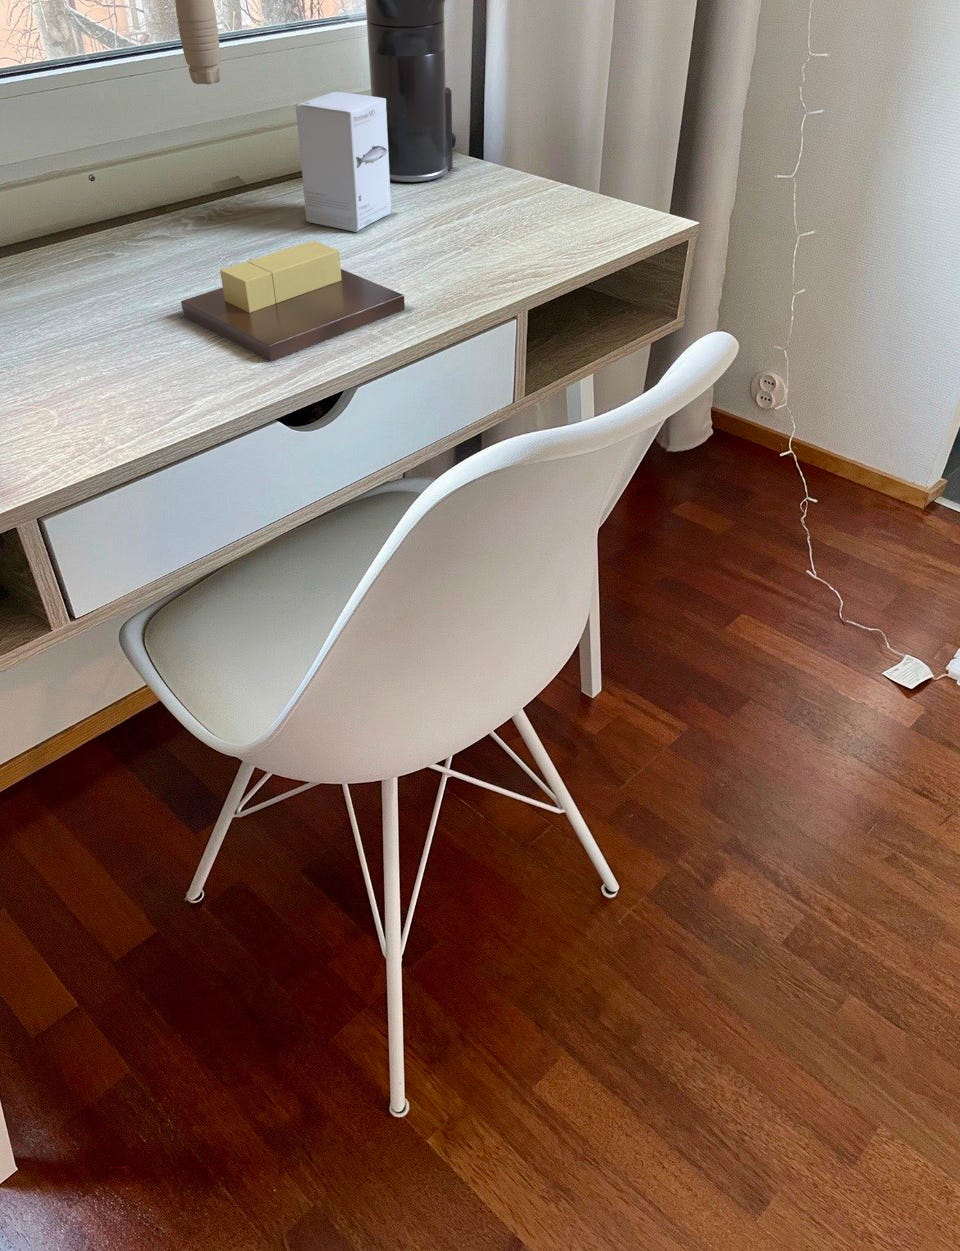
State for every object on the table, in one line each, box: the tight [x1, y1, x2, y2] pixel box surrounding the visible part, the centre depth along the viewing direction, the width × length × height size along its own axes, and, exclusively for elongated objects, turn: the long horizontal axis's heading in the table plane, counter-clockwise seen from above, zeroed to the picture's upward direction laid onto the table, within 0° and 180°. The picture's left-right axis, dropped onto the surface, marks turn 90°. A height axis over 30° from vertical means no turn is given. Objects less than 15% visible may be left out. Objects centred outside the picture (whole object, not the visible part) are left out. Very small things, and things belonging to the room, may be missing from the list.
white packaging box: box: [295, 91, 392, 233], centre depth 117 cm, size 7×7×13 cm
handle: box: [174, 0, 222, 85], centre depth 105 cm, size 5×6×15 cm
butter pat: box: [219, 261, 275, 313], centre depth 98 cm, size 3×4×3 cm
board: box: [180, 268, 406, 362], centre depth 100 cm, size 16×14×2 cm
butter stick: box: [246, 239, 342, 303], centre depth 101 cm, size 8×4×3 cm, turn 135°
